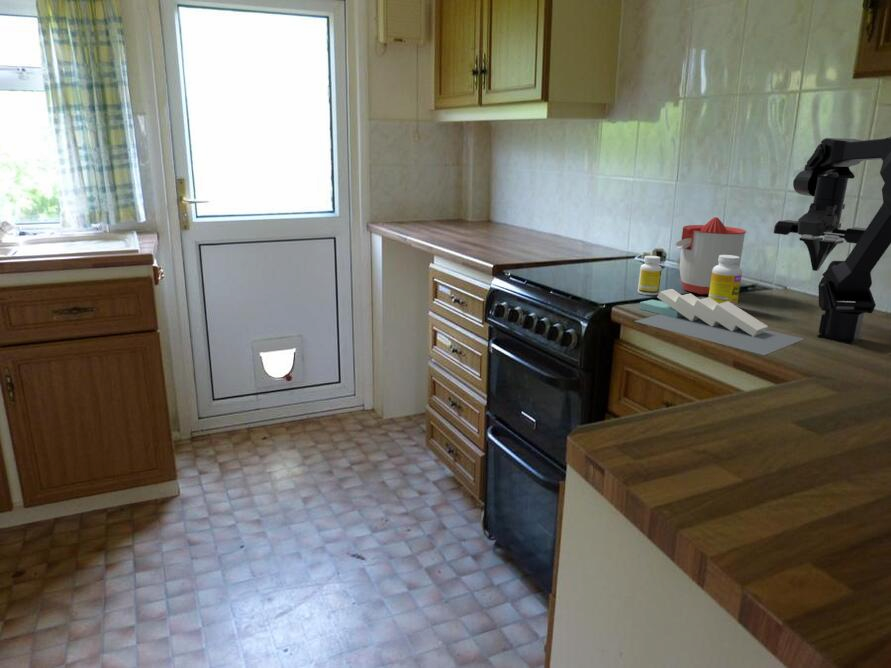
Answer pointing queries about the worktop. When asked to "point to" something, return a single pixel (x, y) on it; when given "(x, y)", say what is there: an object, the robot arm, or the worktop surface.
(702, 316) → the domino
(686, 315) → the domino
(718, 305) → the domino
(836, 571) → the worktop surface
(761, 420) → the worktop surface
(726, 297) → the supplement bottle
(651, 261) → the supplement bottle
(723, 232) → the citrus juicer
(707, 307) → the domino
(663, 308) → the teal domino
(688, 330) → the slate mat
